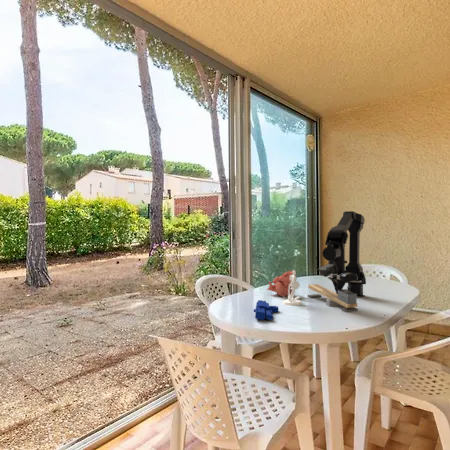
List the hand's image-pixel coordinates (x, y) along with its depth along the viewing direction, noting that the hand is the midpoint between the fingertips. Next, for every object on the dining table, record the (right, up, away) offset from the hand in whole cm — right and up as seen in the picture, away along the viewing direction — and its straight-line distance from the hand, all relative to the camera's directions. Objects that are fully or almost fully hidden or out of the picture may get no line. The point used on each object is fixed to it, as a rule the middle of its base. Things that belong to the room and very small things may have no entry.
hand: (338, 294), depth 147 cm
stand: (-2, -5, +5) cm, 8 cm away
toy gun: (-32, -6, -10) cm, 34 cm away
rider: (+2, -2, -6) cm, 6 cm away
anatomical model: (-21, -5, +22) cm, 31 cm away
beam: (-2, -2, +5) cm, 6 cm away
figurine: (-19, -6, +6) cm, 21 cm away
